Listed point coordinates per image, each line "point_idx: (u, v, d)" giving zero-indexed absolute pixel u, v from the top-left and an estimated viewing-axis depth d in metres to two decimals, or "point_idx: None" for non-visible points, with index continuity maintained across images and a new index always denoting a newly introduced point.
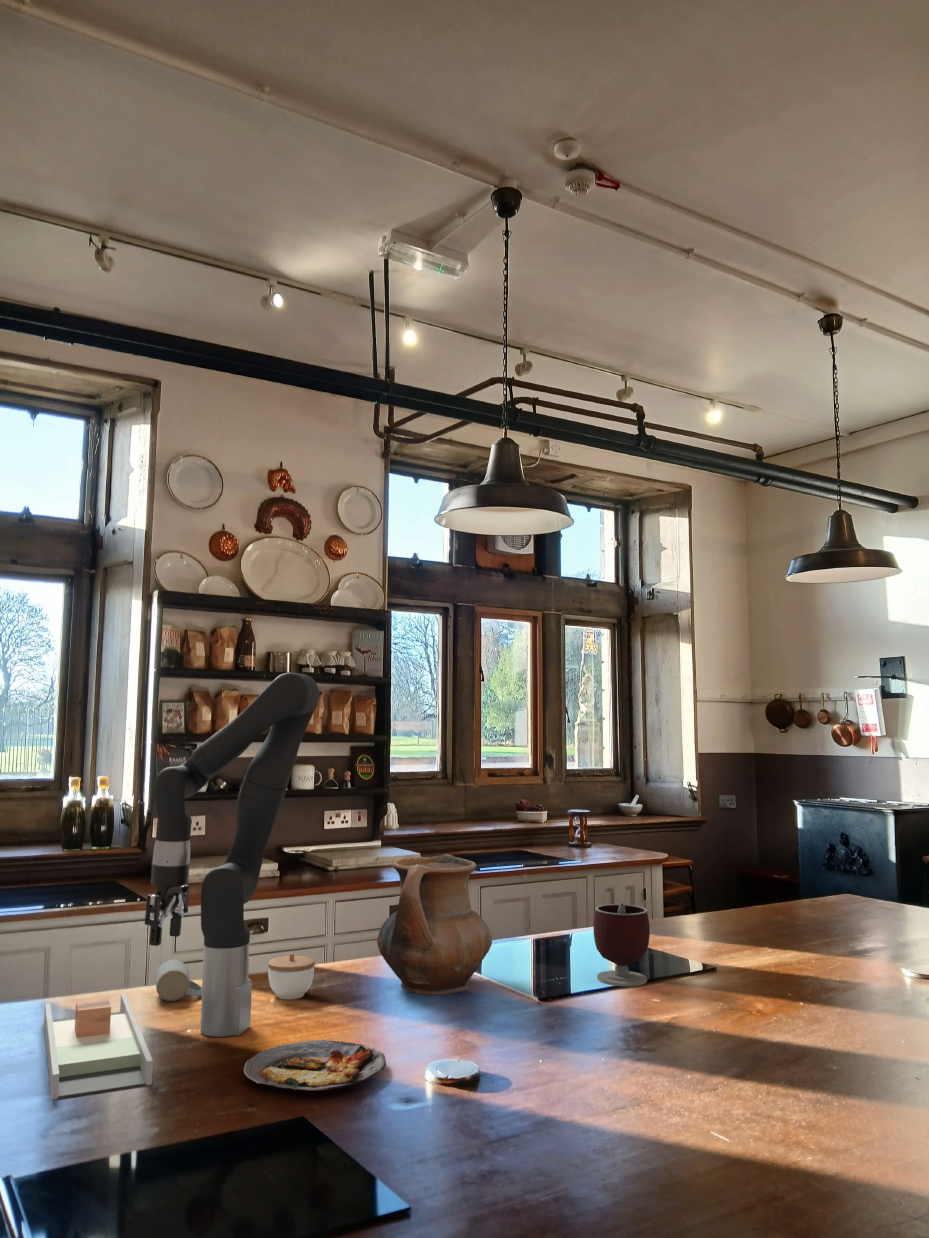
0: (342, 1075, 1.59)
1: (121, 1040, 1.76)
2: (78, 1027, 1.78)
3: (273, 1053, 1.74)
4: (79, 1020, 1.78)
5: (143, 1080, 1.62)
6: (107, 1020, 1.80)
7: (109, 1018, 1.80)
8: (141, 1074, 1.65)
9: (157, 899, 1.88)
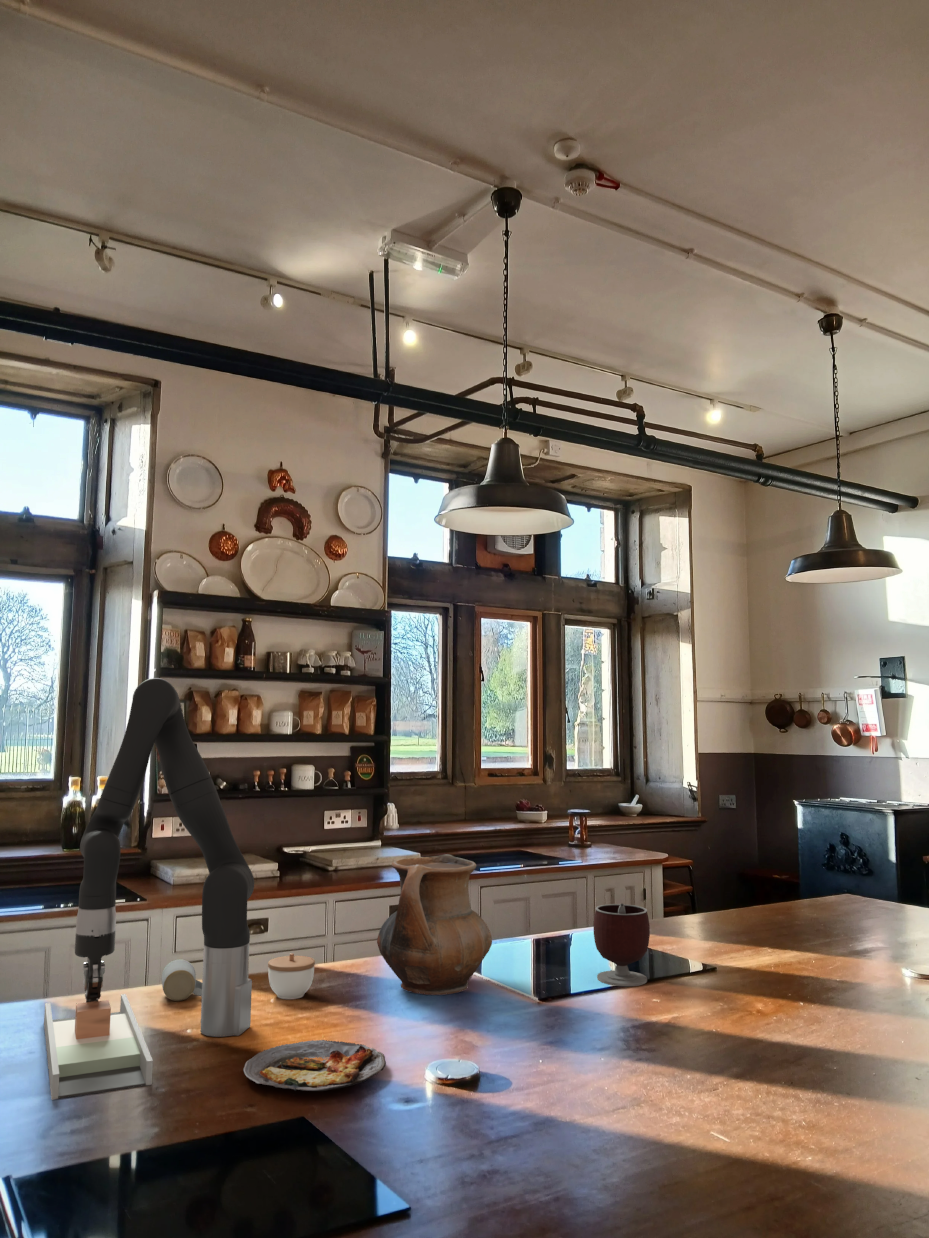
0: (342, 1075, 1.59)
1: (121, 1040, 1.76)
2: (78, 1029, 1.77)
3: (273, 1053, 1.74)
4: (79, 1021, 1.77)
5: (143, 1080, 1.62)
6: (107, 1021, 1.79)
7: (109, 1020, 1.79)
8: (141, 1074, 1.65)
9: None
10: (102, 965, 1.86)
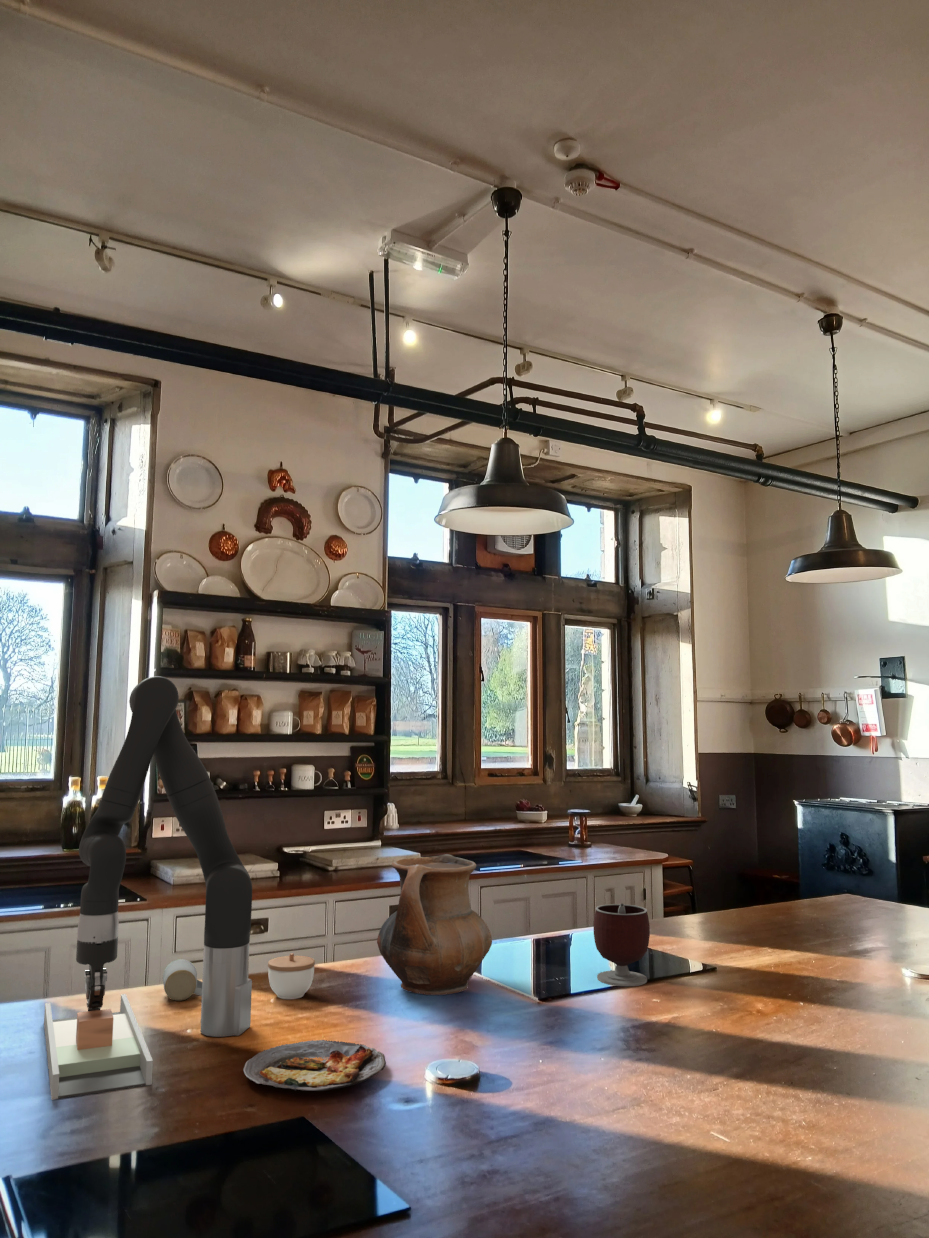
0: (342, 1075, 1.59)
1: (121, 1040, 1.76)
2: (79, 1039, 1.71)
3: (273, 1053, 1.74)
4: (81, 1031, 1.71)
5: (143, 1080, 1.62)
6: (109, 1031, 1.73)
7: (111, 1029, 1.74)
8: (141, 1074, 1.65)
9: None
10: (104, 972, 1.80)
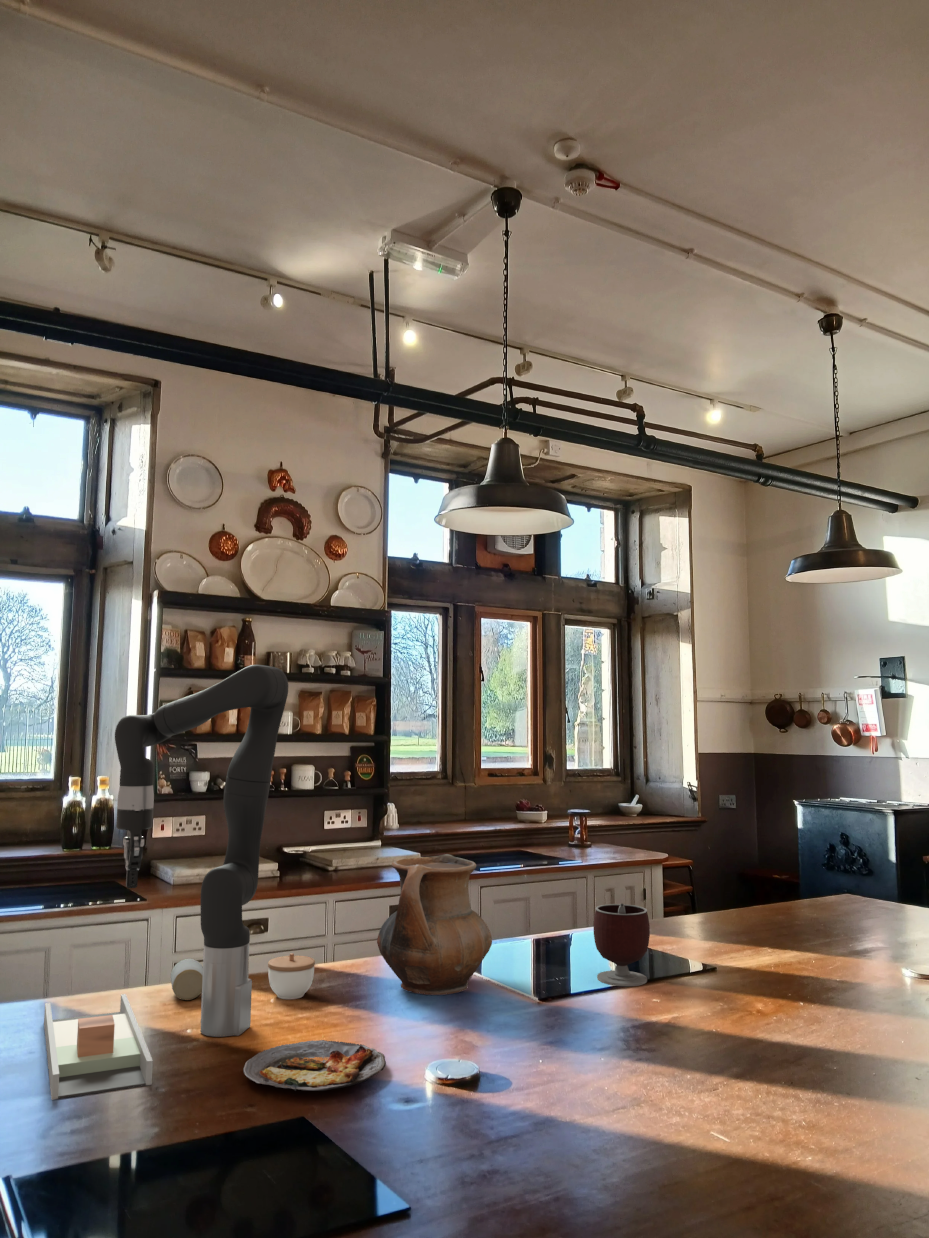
0: (342, 1075, 1.59)
1: (121, 1040, 1.76)
2: (79, 1046, 1.67)
3: (273, 1053, 1.74)
4: (81, 1038, 1.68)
5: (143, 1080, 1.62)
6: (110, 1038, 1.70)
7: (112, 1036, 1.70)
8: (141, 1074, 1.65)
9: None
10: (141, 838, 2.01)
